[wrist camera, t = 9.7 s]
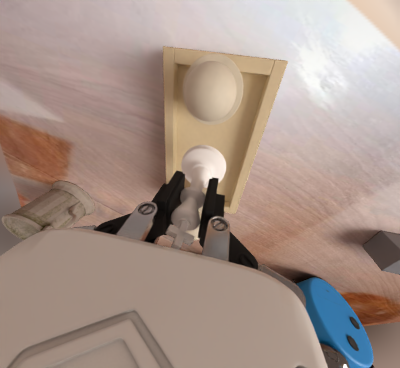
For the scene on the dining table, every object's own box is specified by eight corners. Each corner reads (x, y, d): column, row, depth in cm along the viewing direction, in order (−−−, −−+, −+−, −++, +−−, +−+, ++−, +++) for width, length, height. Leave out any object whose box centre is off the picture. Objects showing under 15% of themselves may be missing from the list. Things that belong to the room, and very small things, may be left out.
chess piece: (210, 191, 18) (193, 279, 10) (175, 171, 18) (125, 247, 9) (235, 161, 16) (239, 247, 7) (194, 135, 15) (149, 199, 7)
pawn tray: (170, 50, 17) (102, 13, 8) (281, 63, 16) (344, 38, 7) (171, 191, 28) (143, 241, 19) (234, 204, 27) (236, 263, 18)
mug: (73, 215, 38) (19, 261, 29) (43, 184, 33) (-35, 225, 24) (118, 211, 34) (72, 263, 24) (91, 174, 29) (20, 220, 19)
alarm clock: (279, 275, 37) (303, 371, 25) (300, 266, 33) (339, 371, 21) (320, 295, 39) (361, 394, 26) (344, 288, 35) (404, 398, 23)
